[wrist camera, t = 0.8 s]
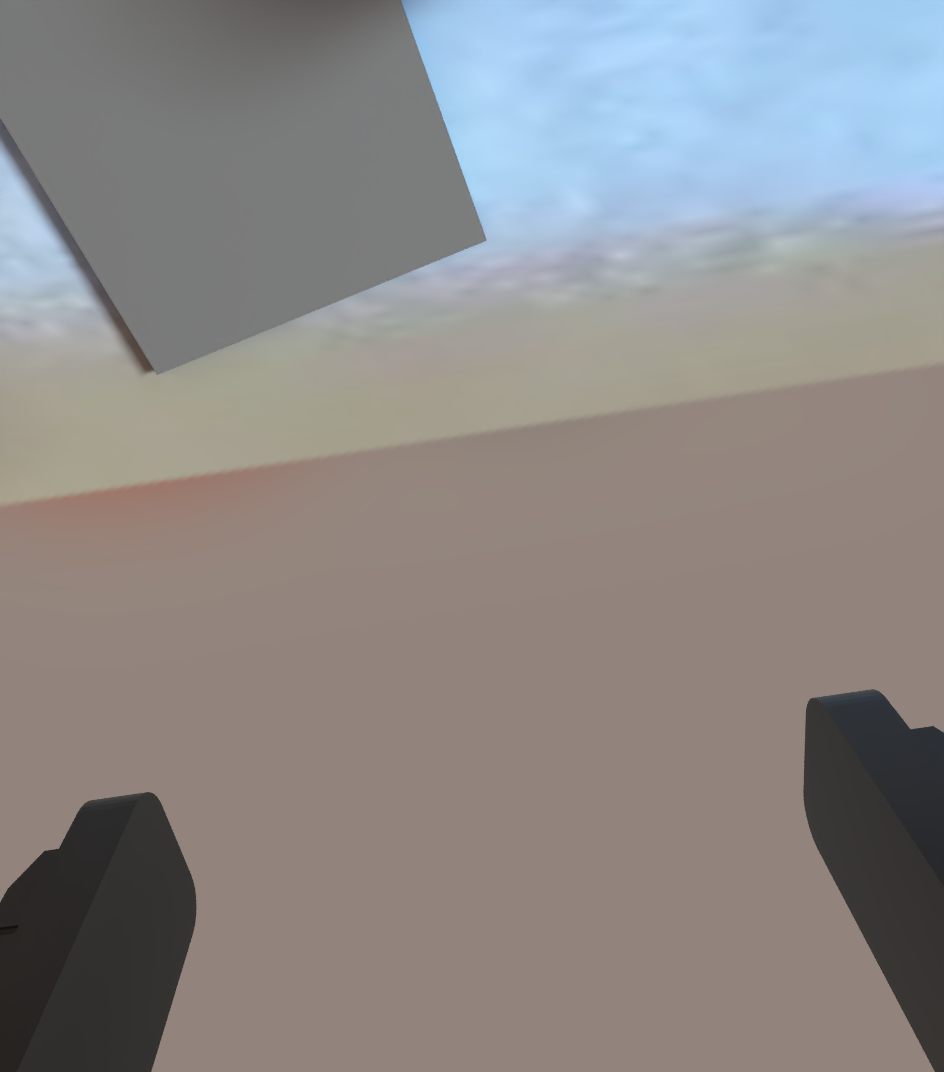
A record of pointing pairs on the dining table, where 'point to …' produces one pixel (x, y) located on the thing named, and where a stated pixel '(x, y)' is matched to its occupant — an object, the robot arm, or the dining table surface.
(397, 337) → the dining table surface
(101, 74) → the mat
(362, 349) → the dining table surface
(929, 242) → the dining table surface
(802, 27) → the dining table surface
